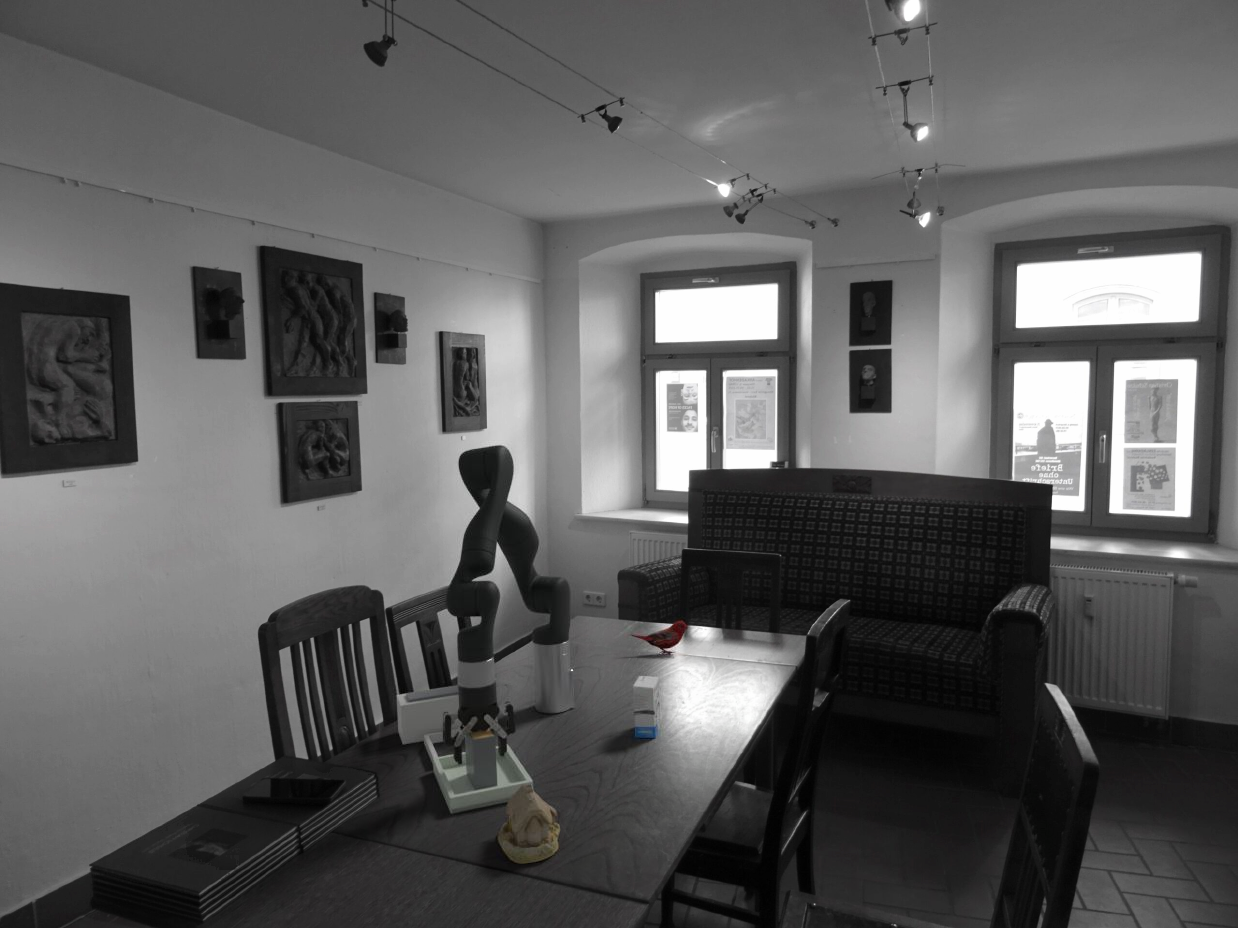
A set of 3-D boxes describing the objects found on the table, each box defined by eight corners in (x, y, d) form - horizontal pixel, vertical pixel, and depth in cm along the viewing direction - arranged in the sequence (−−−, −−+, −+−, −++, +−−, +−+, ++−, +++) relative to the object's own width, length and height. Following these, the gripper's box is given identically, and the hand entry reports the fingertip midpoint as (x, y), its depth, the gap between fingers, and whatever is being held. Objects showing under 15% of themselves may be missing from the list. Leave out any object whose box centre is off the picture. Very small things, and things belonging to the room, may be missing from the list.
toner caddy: (488, 769, 171) (486, 722, 171) (497, 785, 164) (495, 735, 163) (466, 773, 170) (464, 726, 169) (474, 789, 162) (472, 739, 162)
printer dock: (490, 716, 204) (488, 678, 203) (515, 753, 181) (513, 710, 180) (398, 732, 196) (396, 692, 195) (413, 772, 173) (410, 727, 172)
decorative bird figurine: (689, 654, 250) (688, 621, 249) (631, 656, 250) (630, 623, 250) (689, 651, 253) (688, 619, 252) (631, 653, 253) (630, 621, 252)
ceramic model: (494, 828, 149) (491, 774, 148) (555, 818, 152) (553, 764, 151) (504, 869, 135) (502, 809, 135) (571, 857, 138) (569, 798, 138)
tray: (508, 757, 179) (507, 744, 179) (533, 796, 160) (533, 781, 160) (433, 771, 173) (432, 757, 173) (451, 813, 154) (450, 797, 154)
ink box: (655, 738, 186) (653, 687, 186) (633, 737, 187) (632, 687, 187) (661, 724, 195) (659, 675, 194) (640, 723, 196) (638, 674, 195)
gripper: (507, 669, 171) (510, 745, 172) (437, 679, 166) (441, 758, 167) (516, 679, 165) (519, 759, 166) (444, 691, 159) (448, 773, 160)
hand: (480, 758), depth 166 cm, fingers open, 8 cm apart
